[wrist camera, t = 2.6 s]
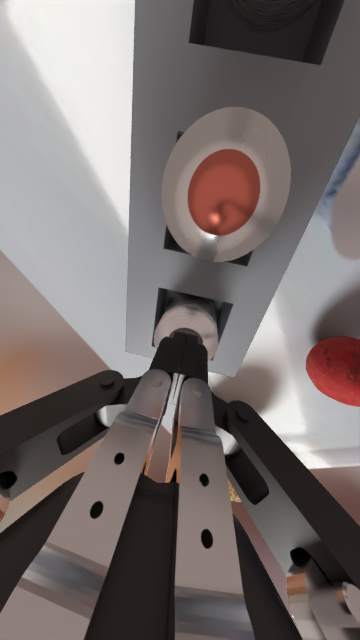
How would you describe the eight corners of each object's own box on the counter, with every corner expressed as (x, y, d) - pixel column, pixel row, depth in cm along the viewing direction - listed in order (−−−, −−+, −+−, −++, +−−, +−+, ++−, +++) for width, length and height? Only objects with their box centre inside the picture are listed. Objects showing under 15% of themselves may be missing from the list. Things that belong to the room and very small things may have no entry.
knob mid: (273, 163, 8) (325, 115, 5) (242, 256, 11) (260, 273, 7) (186, 146, 9) (169, 87, 5) (172, 241, 11) (153, 250, 7)
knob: (222, 298, 14) (227, 325, 10) (208, 341, 16) (208, 376, 13) (169, 286, 14) (156, 309, 11) (162, 331, 16) (149, 362, 13)
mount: (376, -42, 9) (622, -433, 4) (227, 339, 21) (234, 377, 15) (182, -70, 9) (148, -463, 4) (145, 320, 21) (125, 351, 16)
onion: (293, 326, 19) (343, 386, 12) (358, 317, 17) (458, 379, 10) (292, 367, 21) (334, 436, 14) (349, 361, 20) (425, 436, 13)
